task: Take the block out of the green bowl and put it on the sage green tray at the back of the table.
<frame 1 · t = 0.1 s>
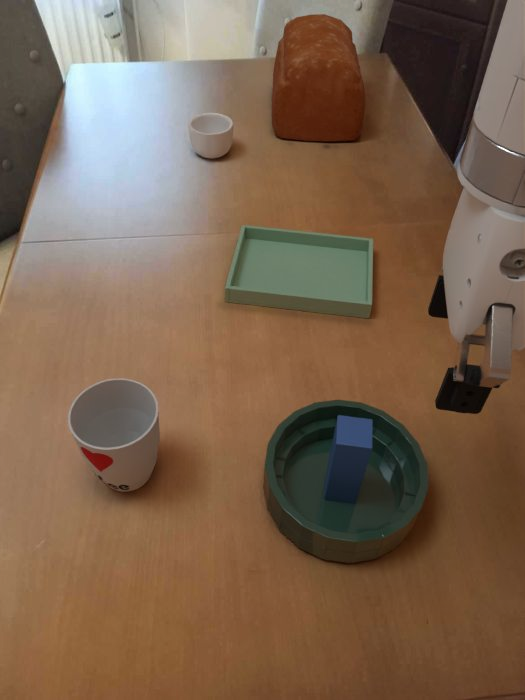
hand: (451, 359, 47), 20 cm above the table, tool pointing down, fingers open, 9 cm apart
green bowl: (340, 490, 61), on the table
teacup: (212, 150, 107), on the table
cup: (128, 470, 62), on the table
bread: (314, 112, 118), on the table
block: (340, 487, 61), resting on green bowl
tray: (301, 275, 84), on the table
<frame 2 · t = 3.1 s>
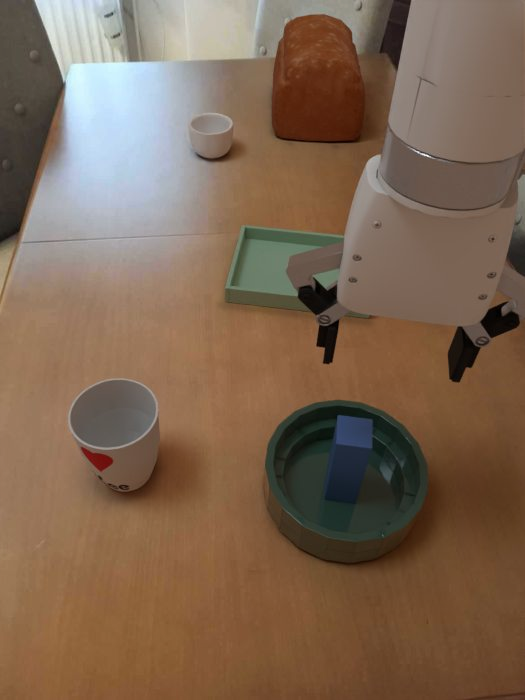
hand: (390, 359, 46), 20 cm above the table, tool pointing down, fingers open, 9 cm apart
nothing on the table moved.
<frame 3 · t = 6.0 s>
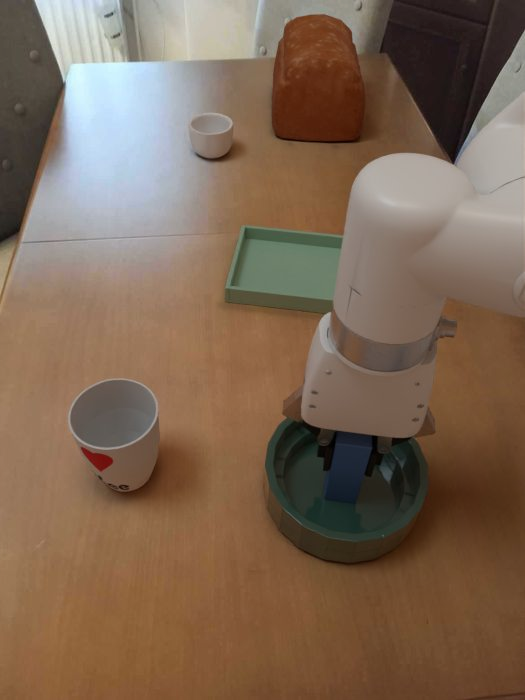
hand: (347, 459, 57), 6 cm above the table, tool pointing down, fingers closed on block, 3 cm apart
block: (340, 487, 61), point 1 cm above the table, touching gripper, green bowl
everything else where it was.
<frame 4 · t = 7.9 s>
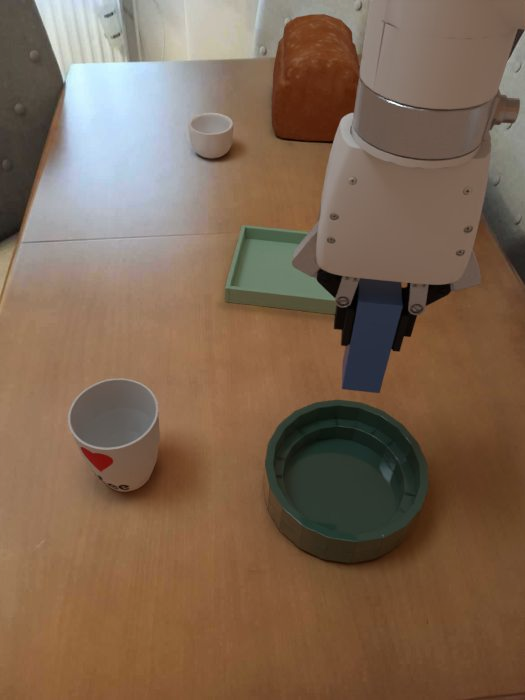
hand: (370, 334, 47), 21 cm above the table, tool pointing down, fingers closed on block, 3 cm apart
block: (360, 377, 51), point 16 cm above the table, touching gripper
everything else where it was.
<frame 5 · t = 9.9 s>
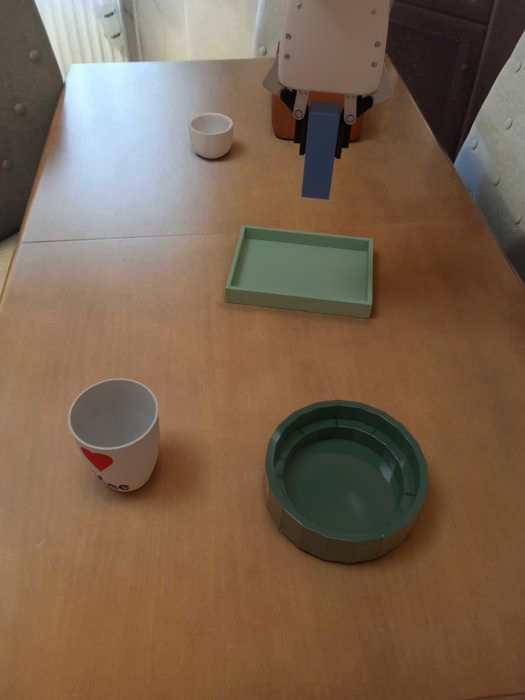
hand: (320, 149, 66), 21 cm above the table, tool pointing down, fingers closed on block, 3 cm apart
block: (315, 191, 69), point 16 cm above the table, touching gripper
everything else where it was.
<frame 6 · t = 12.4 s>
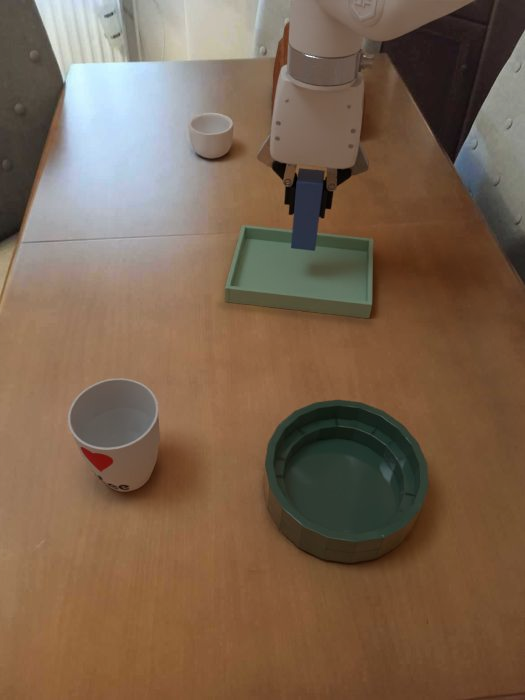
hand: (307, 209, 76), 11 cm above the table, tool pointing down, fingers closed on block, 3 cm apart
block: (303, 242, 80), point 6 cm above the table, touching gripper
everything else where it was.
when the fingers open (6 cm above the table, at t = 14.1 s): block stays where it is, resting on tray.
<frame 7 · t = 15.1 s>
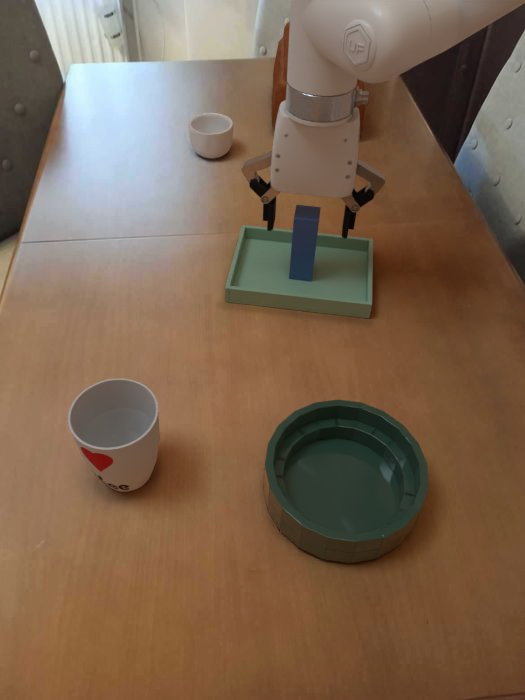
hand: (307, 228, 78), 8 cm above the table, tool pointing down, fingers open, 9 cm apart
block: (301, 273, 84), resting on tray
everything else where it was.
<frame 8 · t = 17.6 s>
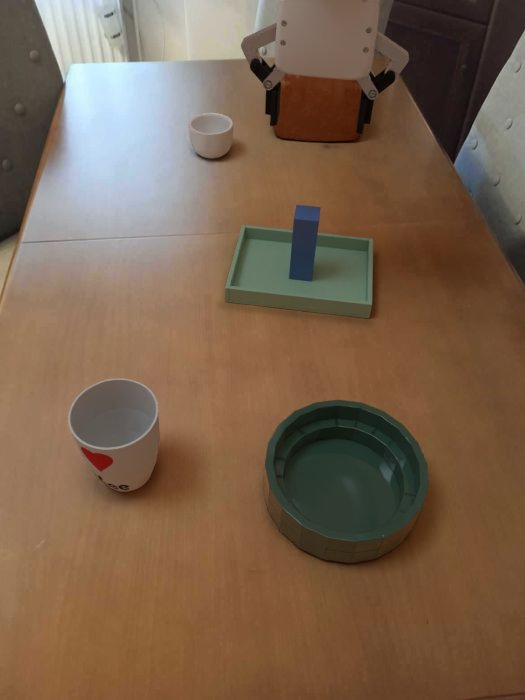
hand: (316, 124, 68), 22 cm above the table, tool pointing down, fingers open, 9 cm apart
nothing on the table moved.
at the end: block inside the target area in the tray (0.1 cm from its centre), point 0.5 cm above the tray's base; the gripper is holding nothing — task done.
